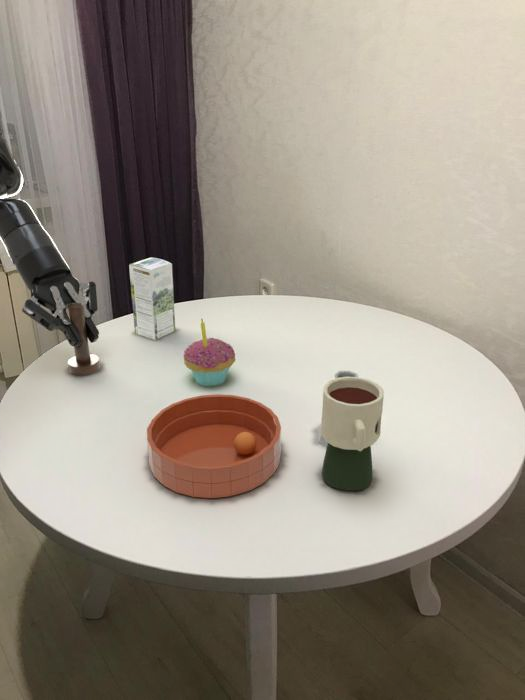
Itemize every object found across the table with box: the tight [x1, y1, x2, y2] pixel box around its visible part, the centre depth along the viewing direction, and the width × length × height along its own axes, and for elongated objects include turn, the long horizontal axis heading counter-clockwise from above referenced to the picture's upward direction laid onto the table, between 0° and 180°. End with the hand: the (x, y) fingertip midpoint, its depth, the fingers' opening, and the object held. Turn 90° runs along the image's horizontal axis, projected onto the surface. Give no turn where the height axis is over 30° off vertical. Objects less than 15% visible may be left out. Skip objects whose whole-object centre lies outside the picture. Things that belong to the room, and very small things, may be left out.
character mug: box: [321, 376, 385, 491], centre depth 72 cm, size 11×7×13 cm, turn 4°
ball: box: [234, 432, 256, 455], centre depth 78 cm, size 3×3×3 cm
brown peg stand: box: [67, 303, 101, 377], centre depth 99 cm, size 5×5×12 cm
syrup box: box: [128, 257, 176, 341], centre depth 112 cm, size 6×6×14 cm
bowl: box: [146, 393, 282, 499], centre depth 77 cm, size 17×17×5 cm
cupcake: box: [183, 318, 236, 387], centre depth 96 cm, size 9×8×12 cm
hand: (87, 342), depth 98 cm, fingers closed on brown peg stand, 2 cm apart
